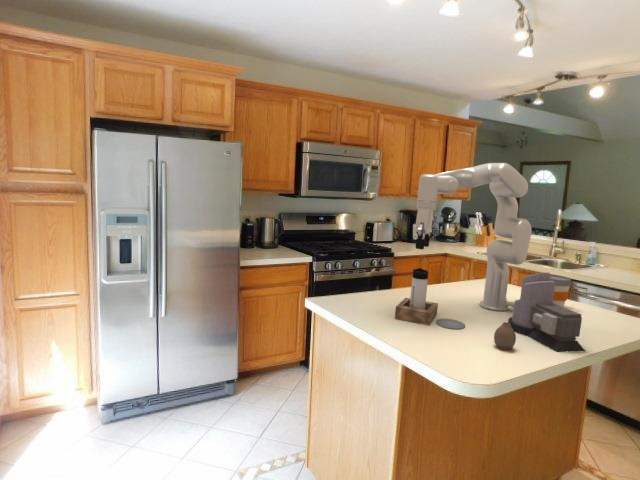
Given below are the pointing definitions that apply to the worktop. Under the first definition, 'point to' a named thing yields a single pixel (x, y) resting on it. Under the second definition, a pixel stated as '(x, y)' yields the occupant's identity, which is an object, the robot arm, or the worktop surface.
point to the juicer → (545, 315)
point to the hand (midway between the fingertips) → (422, 247)
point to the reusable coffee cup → (560, 289)
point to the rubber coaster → (450, 324)
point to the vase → (505, 337)
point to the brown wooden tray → (416, 312)
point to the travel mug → (419, 288)
